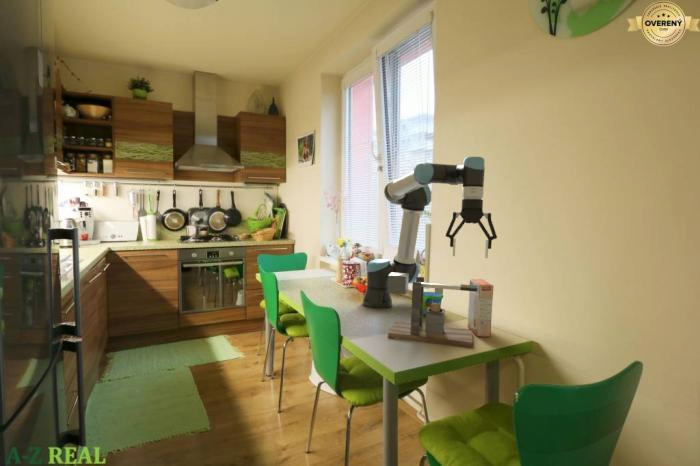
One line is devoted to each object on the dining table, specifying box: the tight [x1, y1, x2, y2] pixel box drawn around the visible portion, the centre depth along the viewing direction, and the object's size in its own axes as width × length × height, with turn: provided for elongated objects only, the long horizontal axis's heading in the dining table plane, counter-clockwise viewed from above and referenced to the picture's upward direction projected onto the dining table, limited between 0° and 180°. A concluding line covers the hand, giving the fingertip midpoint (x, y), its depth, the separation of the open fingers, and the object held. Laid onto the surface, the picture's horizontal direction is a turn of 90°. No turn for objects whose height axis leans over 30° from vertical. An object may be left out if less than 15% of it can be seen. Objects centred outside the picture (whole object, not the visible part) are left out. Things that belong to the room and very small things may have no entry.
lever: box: [387, 272, 477, 295], centre depth 152 cm, size 9×34×7 cm, turn 74°
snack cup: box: [423, 291, 444, 316], centre depth 184 cm, size 16×10×10 cm
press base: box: [387, 276, 473, 349], centre depth 152 cm, size 16×31×22 cm, turn 74°
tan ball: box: [430, 303, 442, 312], centre depth 152 cm, size 4×4×4 cm
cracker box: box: [467, 278, 494, 338], centre depth 159 cm, size 14×6×21 cm, turn 177°
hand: (469, 256), depth 147 cm, fingers open, 11 cm apart
